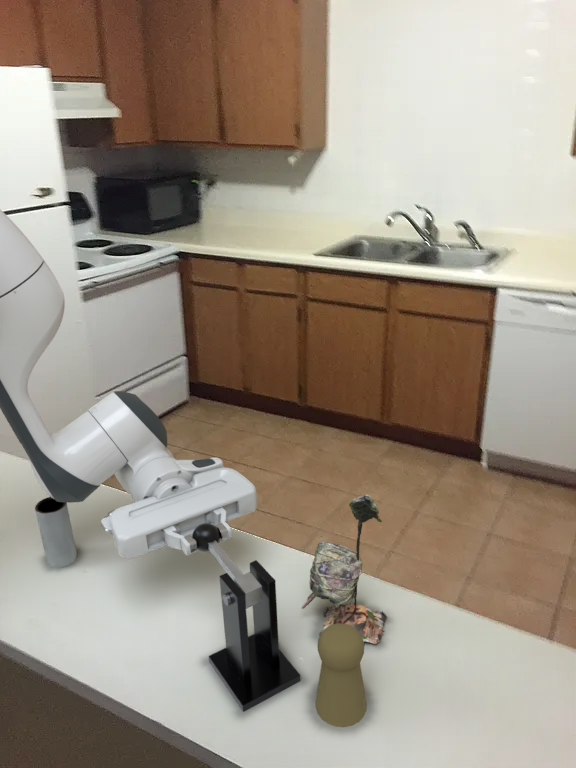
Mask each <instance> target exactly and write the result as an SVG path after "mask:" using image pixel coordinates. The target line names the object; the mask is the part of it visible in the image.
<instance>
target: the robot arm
mask: <svg viewBox="0 0 576 768" xmlns="http://www.w3.org/2000/svg"><path fill="white" fill-rule="evenodd" d="M65 304H66V301H65V295H64V292H63V289H62V287H61V285H60V283H59V282H58V279H57V278H56V276H55V274H54V273H53V271H52V270H51V268H50V267H49V265H48V263H47V262H46V261H45V260H44V258H43V256H42V255H41V254H40V252H39V251H38V250H37V249H36V247H35V246H34V244H33V243H32V242H31V241H30V239H29V238H28V237H27V236H26V235H25V234H24V232H23V231H22V230H21V229H20V228H19V227H18V226H17V224H16V223H15V222H14V221H12V219H11V218H10V217H9V216H8V215H7V214H6V213H5V212H4V211H3V210H2V209H1V208H0V411H1V412H2V414H3V415H4V418H5V420H6V421H7V423H8V425H9V427H10V428H11V430H12V432H13V433H14V435H15V437H16V439H17V440H18V442H19V443H20V444H21V447H22V448H23V450H24V452H25V453H26V455H27V459H28V460H29V463H30V467H31V469H32V472H33V475H34V477H35V479H36V482H37V483H38V485H39V486H40V488H41V489H42V490H43V491H44V493H46V495H48V496H49V497H51V498H53V499H55V500H56V501H57V502H67V504H68V503H69V504H70V503H83V502H84V501H85V500H87V498H88V497H89V496H91V495H92V494H93V493H94V492H95V491H96V490H97V489H98V488H100V487H101V485H102V484H103V483H104V482H106V481H107V480H108V479H109V478H111V477H112V476H113V475H114V476H115V477H116V480H117V481H118V482H119V484H120V486H121V487H122V488H123V490H124V491H125V492H126V493H127V494H128V495H130V498H131V499H132V501H133V502H132V503H129V504H126V505H123V506H121V507H120V506H119V507H118V508H116V509H113V510H110V511H109V512H108V513H107V515H106V516H104V517H103V518H102V519H101V520H100V526H101V527H102V529H103V531H104V532H105V533H107V534H109V535H112V538H113V542H114V546H115V548H116V551H117V553H118V554H119V556H120V557H121V558H123V559H127V560H132V559H135V558H138V557H140V556H143V555H145V554H147V553H151V552H153V551H155V550H159V549H161V548H163V547H165V546H167V547H168V548H171V549H175V550H179V551H182V552H183V553H184V554H185V556H187V557H188V556H190V555H192V554H194V553H195V554H196V553H197V552H198V551H199V550H198V549H197V542H196V540H195V539H193V537H192V534H193V532H194V530H195V528H196V527H197V526H199V525H201V524H203V523H210V524H212V525H214V526H215V527H217V529H218V530H219V533H220V542H221V543H222V542H224V541H227V540H230V539H232V538H233V533H232V528H231V526H230V525H229V524H228V522H231V521H233V520H235V519H238V518H240V517H241V518H242V517H243V516H246V515H248V514H251V513H254V512H255V511H256V509H257V506H258V494H257V489H256V486H255V485H254V484H253V483H252V482H251V481H250V480H249V479H248V478H246V477H245V476H244V475H243V474H241V472H239V471H237V470H235V469H234V468H231V467H225V466H224V462H223V460H222V459H221V458H220V457H214V456H213V457H209V458H208V457H207V458H199V459H176V458H175V456H174V454H173V453H172V452H171V451H170V450H169V448H167V447H168V431H167V429H166V427H165V424H163V422H162V420H161V419H160V418H159V416H158V415H157V414H156V413H155V412H154V411H153V410H152V408H151V407H150V406H148V405H147V404H146V403H145V402H144V401H142V399H141V398H140V397H139V396H138V395H137V394H135V393H131V392H128V391H123V390H115V391H114V390H113V392H111V393H109V394H108V395H106V396H105V397H104V398H101V400H99V401H98V402H97V403H95V404H94V405H92V406H91V407H89V408H88V409H87V410H86V411H85V412H84V413H82V414H81V415H80V416H78V417H77V418H75V419H74V420H73V421H72V422H70V423H69V424H67V425H66V426H65V427H63V428H61V429H60V430H59V431H56V432H52V433H51V432H49V430H48V429H47V426H46V425H45V423H44V421H43V419H42V418H41V416H40V413H39V412H38V410H37V408H36V406H35V404H34V403H33V401H32V399H31V397H30V394H29V391H28V389H29V388H28V383H29V379H30V377H31V374H32V372H33V369H35V366H36V365H37V363H38V362H39V359H40V358H41V357H42V355H43V354H44V352H45V351H46V349H47V348H49V347H48V346H50V344H51V342H53V340H54V338H55V336H56V335H57V333H58V331H59V329H60V327H61V324H62V322H63V317H64V315H65V314H64V313H65V309H66V308H65V306H66V305H65Z"/></svg>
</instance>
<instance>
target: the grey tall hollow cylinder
mask: <svg viewBox="0 0 576 768" xmlns="http://www.w3.org/2000/svg"><path fill="white" fill-rule="evenodd" d="M34 510H35V511H34V512H35V515H36V520H37V524H38V528H39V534H40V537H41V543H42V547H43V551H44V555H45V561H46V564H47V565H48V566H49V567H50V568H53V569H60V568H65V567H68V566H70V565H72V564H73V563H74V562H75V561H76V560H77V558H78V552H77V547H76V542H75V538H74V533H73V532H74V531H73V528H72V522H71V516H70V512H69V511H70V510H69V508H68V502H57V501H56V500H55V499H53V498H51V497H50V496H49V497H45V498H42V499H41V500H39V501H38V502H36V504H35V507H34Z"/></svg>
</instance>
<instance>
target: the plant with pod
mask: <svg viewBox="0 0 576 768" xmlns="http://www.w3.org/2000/svg"><path fill="white" fill-rule="evenodd" d="M348 505H349V508H350V510H351V513H352V514H353V517H354V518H355V520H357V521H358V522H357V538H356V545H355V547H356V548H355V549H356V550H352V549H351V548H349V547H347V546H345V545H341V544H339V543H338V544H337V543H331V542H328V541H321V542H318V544H317V546H316V549H315V551H314V559H313V560H312V565H311V567H310V570H309V573H310V574H309V583H308V584H309V589H310V591H311V592H312V593H310V594H309V596H308V597H307V599H306V600H305V602H304V603H303V604H302V605H301V609H302V610H304V609H305V608H307V606H309V605H310V604H311V603H312V601H313V600H314V599H315V598H320V599H322V600H328V601H329V602H331V604H333V606H332V605H331V606H325V607H326V609H324V611H323V617H324V618H327V619H326V620H325V621H324V622H323V623H322V626H323V628H322V630H321V631H320V632H319V634H318V637H320V635H321V633H322V632H323V631H324V630H325V629H326V628H327V627H328V626H330V625H333V624H338V623H341V624H347V625H351V626H352V627H354V628H355V629H356V630H357V631H358V632H359V633H360V634H361V636H362V638H363V641H364V643H365V642H366V643H370V644H373V645H377V644H378V643H379V642H381V639H382V638H383V636H382V634H383V633H385V632H386V630H384V626H386V624H385V621H387V618H388V616H387V614H386V613H385V612H384V611H383V610H382V611H380V610H372V609H371V608H368V607H367V606H366V605H362V604H357V597H358V582H359V580H360V576H361V575H362V570H363V565H364V563H363V560H362V558H361V557H360V545H361V535H362V529H363V524H364V523H366V522H368V521H369V520H373V519H375V520H376V521H377V522H378V523H382V522H383V520H382V519H381V518H380V516H379V514H380V511H379V507H378V504H376V503H375V500H374V499H373V498H372V497H371V495H369V494H364V495H361V496H357V497H355V498H353V499H352V500H351V501H350V502H349V503H348ZM319 538H320V539H322V538H323V535H320V536H319Z"/></svg>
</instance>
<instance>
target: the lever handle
mask: <svg viewBox="0 0 576 768" xmlns="http://www.w3.org/2000/svg"><path fill="white" fill-rule="evenodd" d="M192 537H193V539H195V540H196V542H197V549H198V551H200V552H203V553H204V552H206V553H209V552H210V553H211V555H212V556H213V557H214V559H216V561H217V562H218V563H219V565H220V566H221V567H222V569H223V570H224V571H225V573H227V574H228V575H229V576H230V577H231V578H232V579H233V581H234V582H235V583H236V584H237V585H238V587H239V588H240V589H241V590H242V591H243V592H244V594H245V603H246V610H247V609H249V608H251V607H253V606H254V605H256V604H258V603H260V602H262V586H261V584H260V583H259V582H258V581H257V579H256V578H255V577H254V576H253V575H252V573H251V572H250V571H248V572H246V573H243V572H242V571H241V569H239V567H238V566H237V564H235V563H234V561H233V560H232V559H231V557H230V556H229V555H228V553H226V551H225V550H224V549H223V548H222V547H221V545H220V542H221V541H220V533H219V530H218V529H217V527H215V526H214V525H212V524H210V523H203V524H201V525H199V526H197V527H196V528H195V530H194V532H193V534H192Z"/></svg>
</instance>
